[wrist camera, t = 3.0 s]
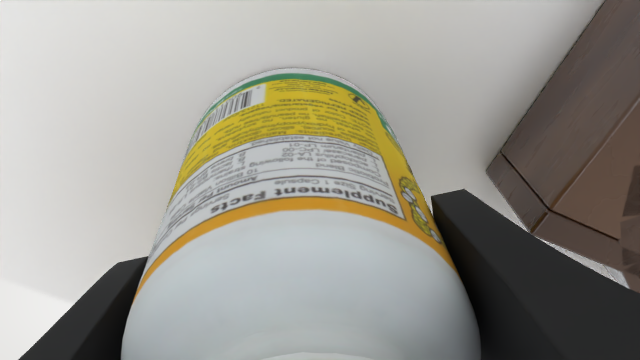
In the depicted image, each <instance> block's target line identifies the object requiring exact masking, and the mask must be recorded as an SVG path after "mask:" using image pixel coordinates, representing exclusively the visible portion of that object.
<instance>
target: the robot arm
mask: <svg viewBox="0 0 640 360" xmlns="http://www.w3.org/2000/svg"><path fill="white" fill-rule="evenodd" d="M431 200H432V208H433V216H434V220H435V222H436V225H437V227H438V229H439V231H440V233H441V235H442V237H443V240H444V243H445V245H446V247H447V250H448V252H449V254H450V256H451V258H452V260H453V262H454V264H455V267H456V269H457V271H458V273H459V276H460V278H461V280H462V282H463V285H464V287H465V289H466V292H467V294H468V297H469V299H470V302H471V304H472V307H473V309H474V312H475V316H476V320H477V323H478V327H479V333H480V342H481V360H640V293H638V292H636V291H634V290H631V289H629V288H627V287H625V286H623V285H621V284H619V283H617V282H615V281H613V280H611V279H609V278H607V277H605V276H603V275H601V274H599V273H597V272H595V271H593V270H592V269H590V268H588V267H586V266H584V265H582V264H581V263H579V262H577V261H575V260H573V259H572V258H570V257H568V256H566V255H564V254H563V253H561V252H559V251H558V250H556V249H554V248H552V247H551V246H549V245H547V244H546V243H544V242H543V241H541V240H539V239H538V238H536V237H535V236H533V235H531V234H530V233H528V232H527V231H525V230H524V229H522V228H521V227H519V226H518V225H516V224H515V223H513V222H512V221H510V220H509V219H507V218H506V217H504V216H503V215H501V214H500V213H498V212H497V211H495V210H494V209H493V208H491V207H490V206H488V205H487V204H485V203H484V202H482V201H481V200H480V199H478V198H477V197H475V196H474V195H472V194H471V193H469V192H468V191H466V190H465V189H462V190H457V191H452V192H448V193H443V194H438V195H434V196H431ZM148 257H149V256H147V257H143V258H138V259H133V260H128V261H124V262H119V263H117V264H116V265H114V266H113V267H112V268H111V269H110V270H109V271H108V272H106V273H105V274H104V275H103V276H102V277H101V278H100V279H99V280H98V281H97V282H96V283H95V284H94V285H93V286H92V287H91V288H90V289H89V290H88V291H87V292H86V293H85V294H84V295H83V296H82V297H81V298H80V299H79V300H78V301H77V302H76V303H75V304H74V305H73V306H72V307H71V308H70V309H69V310H68V311H67V312H66V313H65V314H64V315H63V316H62V317H61V318H60V319H59V320H58V321H57V322H56V323H55V324H54V325H53V326H52V327H51V328H50V329H49V330H48V332H46V333H45V334H44V335H43V336H42V337H41V338H40V339H39V340H38V341H37V343H35V344H34V345H33V346H32V347H31V348H30V349H29V350H28V351H27V352H26V353H25V354H24V355H23V356H22V357H21V358H20V359H19V360H121V350H122V340H123V335H124V331H125V327H126V322H127V319H128V315H129V312H130V309H131V306H132V303H133V300H134V297H135V295H136V291H137V288H138V285H139V282H140V280H141V277H142V275H143V272H144V269H145V266H146V263H147V260H148Z"/></svg>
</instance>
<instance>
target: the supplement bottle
mask: <svg viewBox="0 0 640 360" xmlns="http://www.w3.org/2000/svg"><path fill="white" fill-rule="evenodd" d="M121 360H481V342H480V333H479V327H478V323H477V320H476V316H475V312H474V309H473V307H472V304H471V302H470V299H469V297H468V294H467V292H466V289H465V287H464V285H463V282H462V280H461V278H460V276H459V273H458V271H457V269H456V267H455V264H454V262H453V260H452V258H451V256H450V254H449V252H448V250H447V247H446V245H445V243H444V240H443V237H442V235H441V233H440V231H439V229H438V227H437V225H436V222H435V220H434V218H433V215H432V213H431V211H430V209H429V207H428V205H427V203H426V201H425V199H424V196H423V194H422V192H421V190H420V188H419V187H418V185H417V183H416V181H415V178H414V176H413V174H412V171H411V168H410V166H409V165H408V163H407V160H406V158H405V156H404V154H403V151H402V149H401V147H400V145H399V143H398V141H397V139H396V137H395V135H394V133H393V131H392V129H391V128H390V126H389V124H388V123H387V121H386V119H385V118H384V116H383V115H382V113H381V112H380V110H379V109H378V107H377V106H376V105H375V104H374V102H373V101H372V100H371V99H370V98H369V97H368V96H367V95H366V94H365V93H364V92H363V91H362V90H360V89H359V88H358V87H356V86H355V85H353V84H352V83H350V82H348V81H346V80H344V79H342V78H341V77H338V76H335V75H333V74H330V73H326V72H322V71H318V70H312V69H302V68H284V69H276V70H271V71H267V72H263V73H260V74H257V75H254V76H251V77H249V78H247V79H245V80H243V81H241V82H239V83H237V84H236V85H234V86H232V87H231V88H229V89H228V90H227V91H225V92H224V93H223V94H222V95H221V96H219V97H218V98H217V99H216V100H215V101H214V102H213V103H212V104H211V106H210V107H209V108H208V109H207V111H206V112H205V114H204V115H203V116H202V118H201V119H200V121H199V123H198V125H197V127H196V129H195V131H194V134H193V136H192V138H191V140H190V143H189V145H188V148H187V151H186V154H185V156H184V159H183V163H182V166H181V168H180V171H179V175H178V178H177V181H176V184H175V187H174V190H173V193H172V196H171V198H170V201H169V203H168V206H167V209H166V212H165V215H164V217H163V219H162V222H161V225H160V227H159V230H158V233H157V236H156V239H155V241H154V244H153V247H152V249H151V252H150V255H149V257H148V260H147V263H146V266H145V269H144V272H143V275H142V277H141V280H140V282H139V285H138V288H137V291H136V295H135V297H134V300H133V303H132V306H131V309H130V312H129V315H128V319H127V322H126V327H125V331H124V335H123V340H122V350H121Z"/></svg>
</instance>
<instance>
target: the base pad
mask: <svg viewBox="0 0 640 360" xmlns="http://www.w3.org/2000/svg"><path fill="white" fill-rule="evenodd" d="M501 152H502V153H499V154H498V155H497V156H496V158H495V159H494V161H493V162H492V164H491V165H490V166H489V168H488V169H487V171H486V174H487V175H488V176H489V178H490V179H491V181H492V182H493V183H494V185H495V186H496V188H497V189H498V190H499V192H500V193H501V194H502V196H503V197H504V199H505V200H506V201H507V203H508V204H509V205H510V207H511V208H512V210H513V211H514V212H515V214H516V215H517V216H518V218H519V219H520V221H521V222H522V223H523V225H524V226H525V227H526V229H527V230H528V232H529V233H530V234H531V235H533V236H536V237H538V238H541V239H543V240H545V241H548V242H550V243H553V244H555V245H557V246H560V247H562V248H565V249H567V250H569V251H572V252H574V253H577V254H579V255H581V256H584V257H586V258H589V259H591V260H593V261H596V262H598V263H601V264H603V266H604V267H605V268H606V269H607V270H608V271H609V272H610V274H611V275H612V276H613V277H614V278H615V279H616V281H617V282H618V283H619V284H621V285H623V286H625V287H627V288H629V289H631V290H634V291H636V292H638V293H640V0H606V1H605V2H604V4H603V5H602V7H601V8H600V9H599V11H598V12H597V14H596V15H595V17H594V18H593V19H592V21H591V22H590V24H589V25H588V27H587V28H586V29H585V31H584V32H583V34H582V35H581V37H580V38H579V39H578V41H577V42H576V44H575V45H574V47H573V48H572V49H571V51H570V52H569V54H568V55H567V57H566V58H565V59H564V61H563V62H562V64H561V65H560V67H559V68H558V69H557V71H556V72H555V74H554V75H553V77H552V78H551V79H550V81H549V82H548V84H547V85H546V87H545V88H544V89H543V91H542V92H541V94H540V95H539V97H538V98H537V99H536V101H535V102H534V104H533V105H532V107H531V108H530V109H529V111H528V112H527V114H526V115H525V117H524V118H523V119H522V121H521V122H520V124H519V125H518V127H517V128H516V129H515V131H514V132H513V134H512V135H511V137H510V138H509V139H508V141H507V142H506V144H505V145H504V147H503V148H502V150H501Z"/></svg>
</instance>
